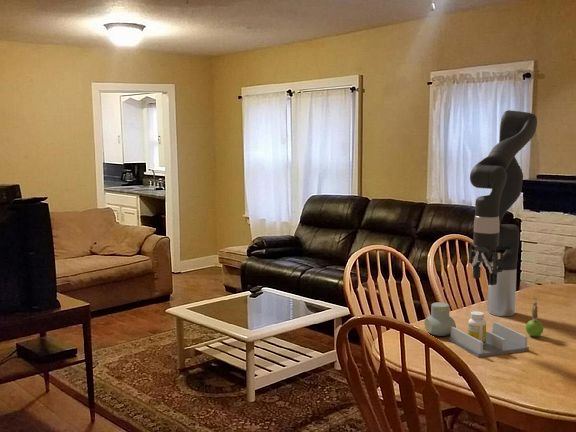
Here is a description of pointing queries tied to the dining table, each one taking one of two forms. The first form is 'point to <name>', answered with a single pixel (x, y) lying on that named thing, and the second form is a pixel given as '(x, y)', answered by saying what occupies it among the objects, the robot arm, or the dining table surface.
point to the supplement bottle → (477, 326)
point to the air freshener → (439, 320)
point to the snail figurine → (534, 323)
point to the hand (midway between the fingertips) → (484, 281)
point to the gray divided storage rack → (491, 341)
